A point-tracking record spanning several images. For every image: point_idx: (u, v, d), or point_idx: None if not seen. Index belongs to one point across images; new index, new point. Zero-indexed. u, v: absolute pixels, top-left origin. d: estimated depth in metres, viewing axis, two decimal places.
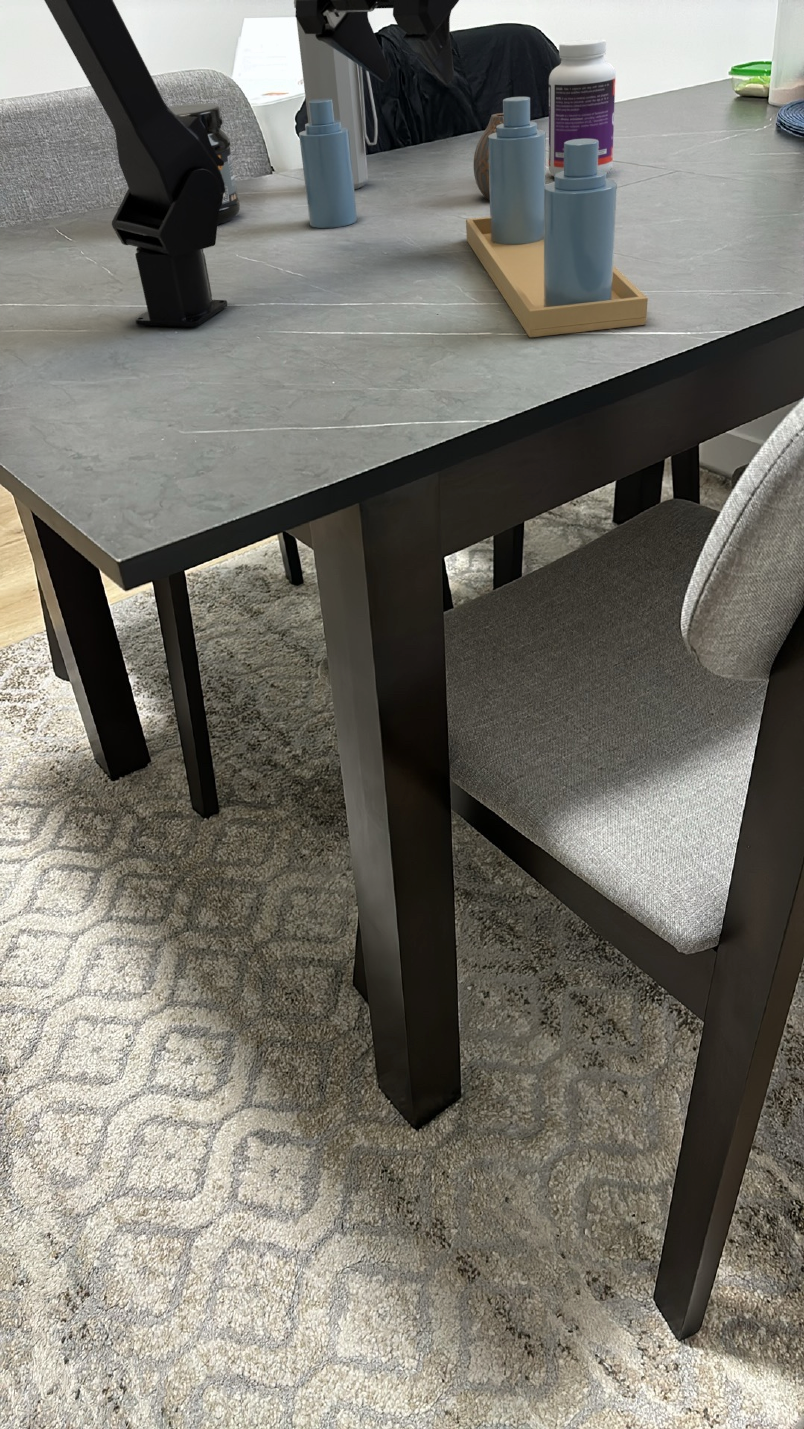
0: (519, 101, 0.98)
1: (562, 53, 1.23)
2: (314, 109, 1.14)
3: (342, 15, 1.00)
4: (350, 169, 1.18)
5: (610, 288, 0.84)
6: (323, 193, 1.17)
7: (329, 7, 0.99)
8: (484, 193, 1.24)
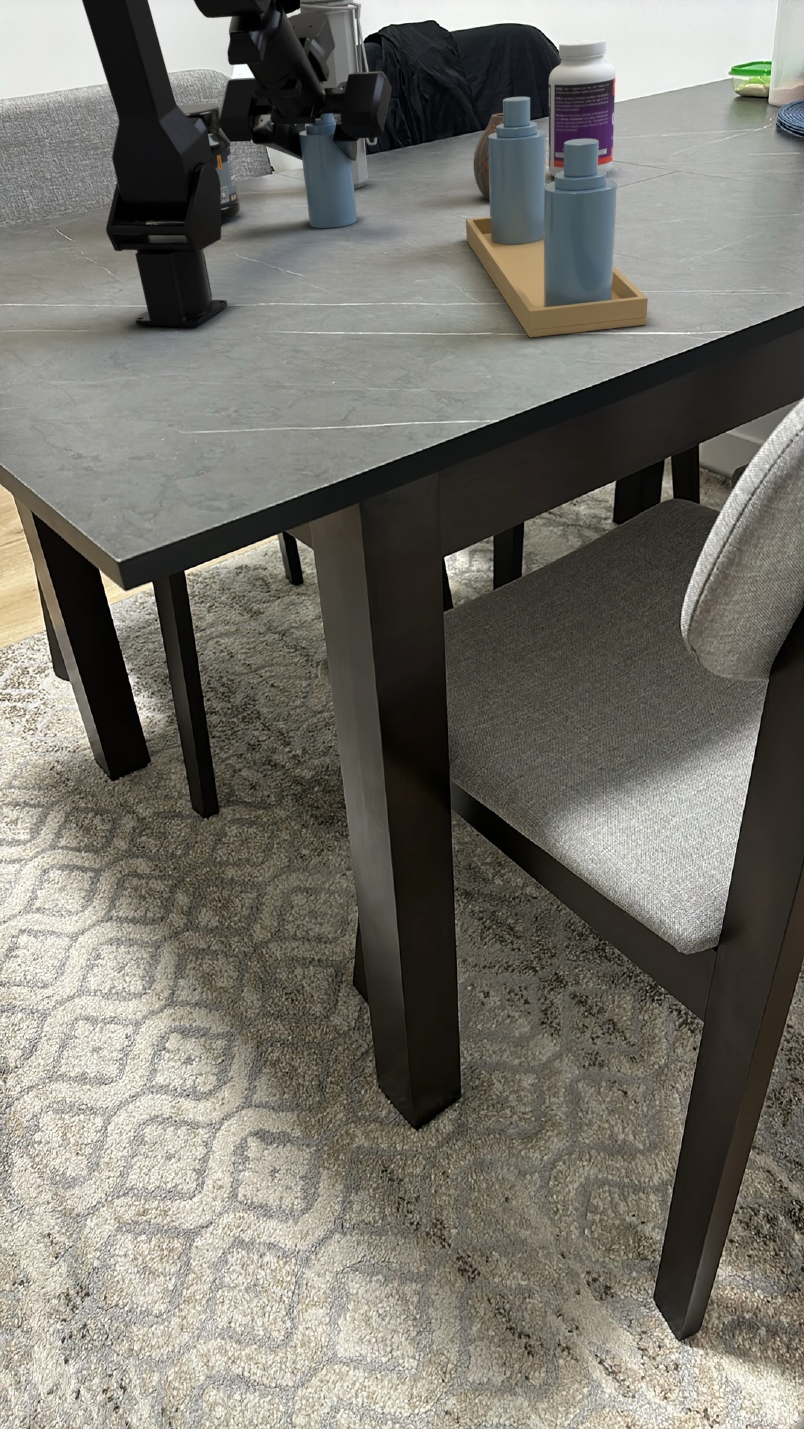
0: (519, 101, 0.98)
1: (562, 54, 1.23)
2: None
3: None
4: (350, 169, 1.18)
5: (610, 288, 0.84)
6: (323, 193, 1.17)
7: (268, 118, 1.12)
8: (484, 193, 1.24)
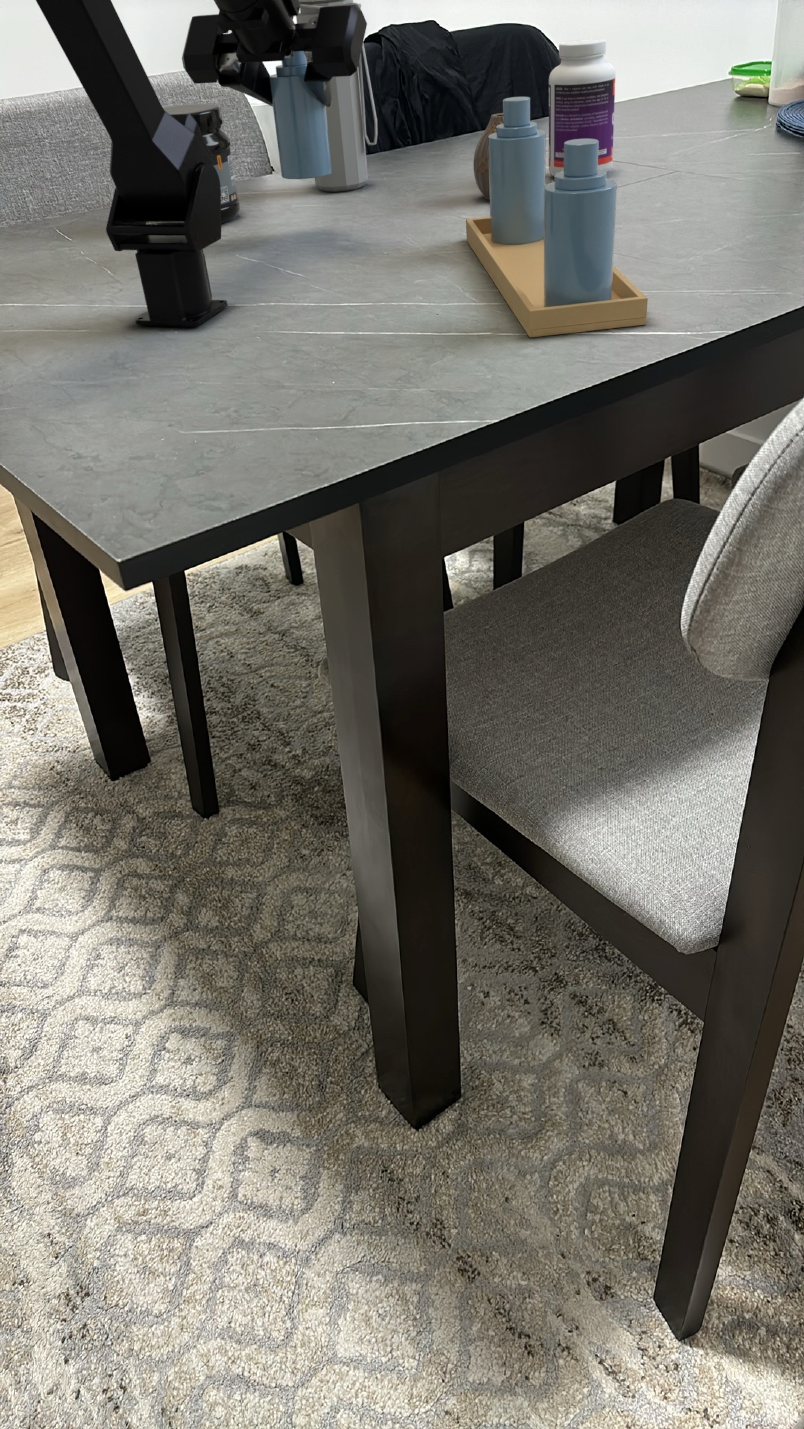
0: (519, 101, 0.98)
1: (562, 53, 1.23)
2: None
3: None
4: (324, 115, 1.10)
5: (610, 288, 0.84)
6: (295, 141, 1.10)
7: (235, 56, 1.04)
8: (484, 193, 1.24)
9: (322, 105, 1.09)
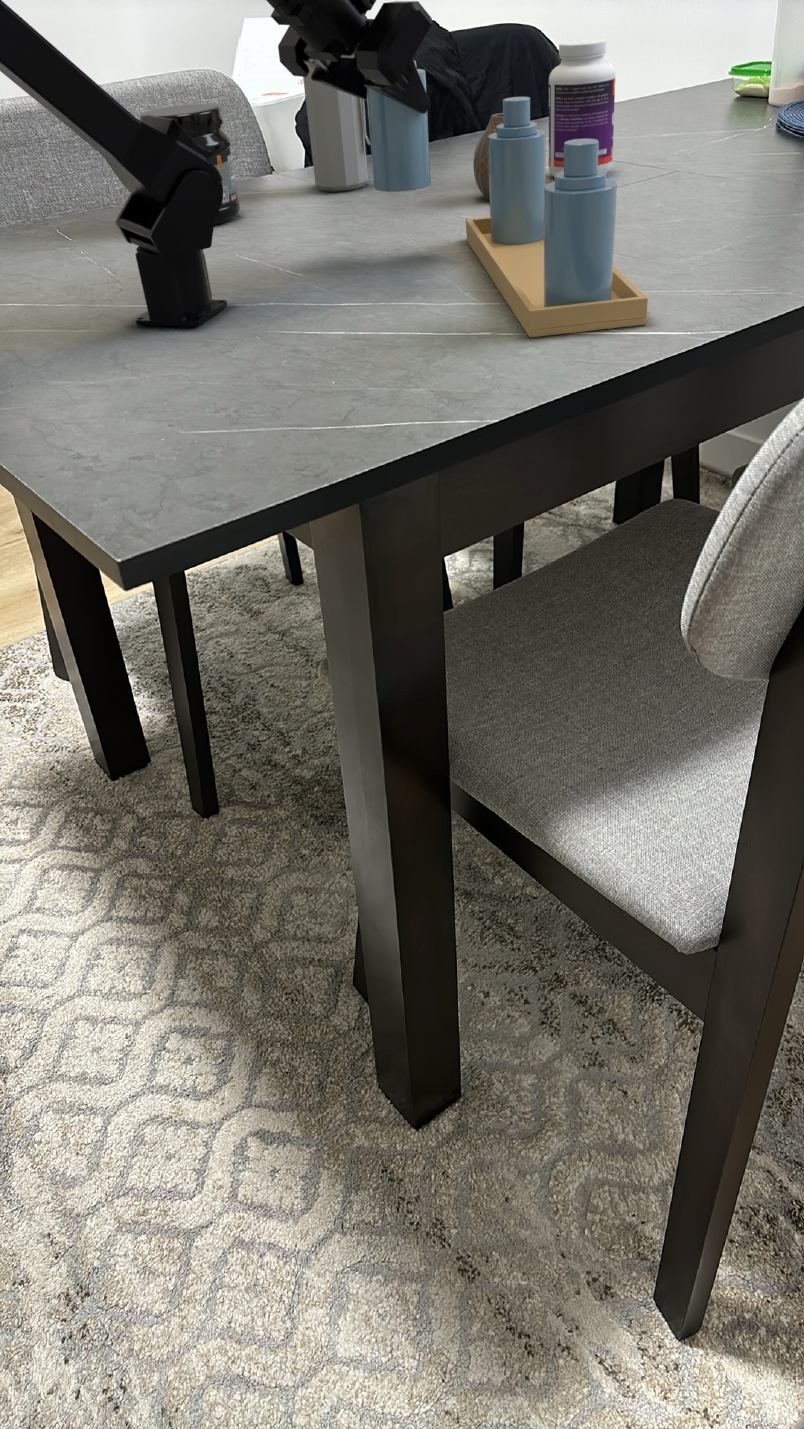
0: (519, 101, 0.98)
1: (562, 53, 1.23)
2: None
3: None
4: (415, 123, 0.96)
5: (610, 288, 0.84)
6: (377, 148, 0.98)
7: None
8: (484, 193, 1.24)
9: (412, 111, 0.96)
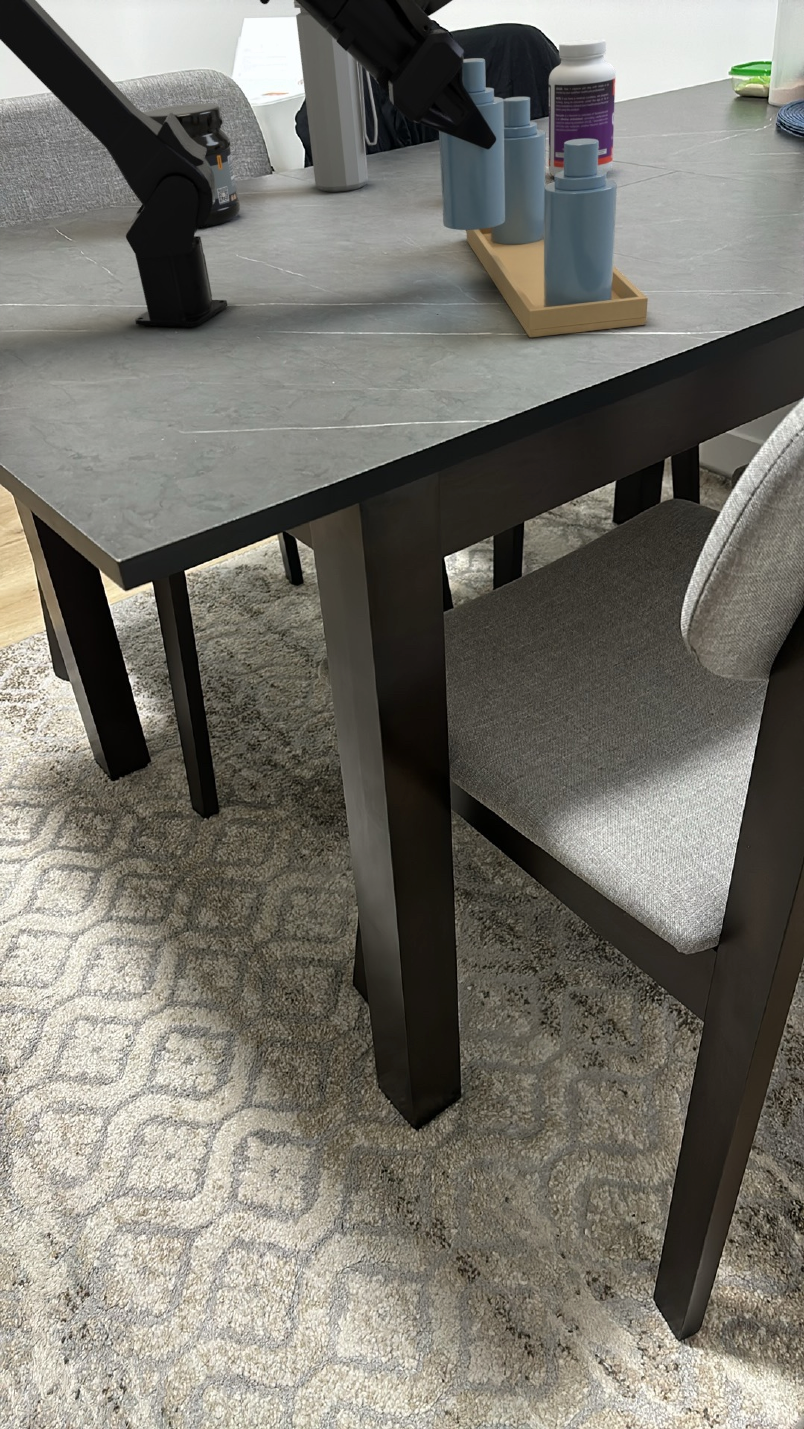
0: (519, 101, 0.98)
1: (562, 54, 1.23)
2: None
3: None
4: (478, 159, 0.88)
5: (610, 288, 0.84)
6: (442, 181, 0.91)
7: None
8: None
9: (475, 146, 0.87)
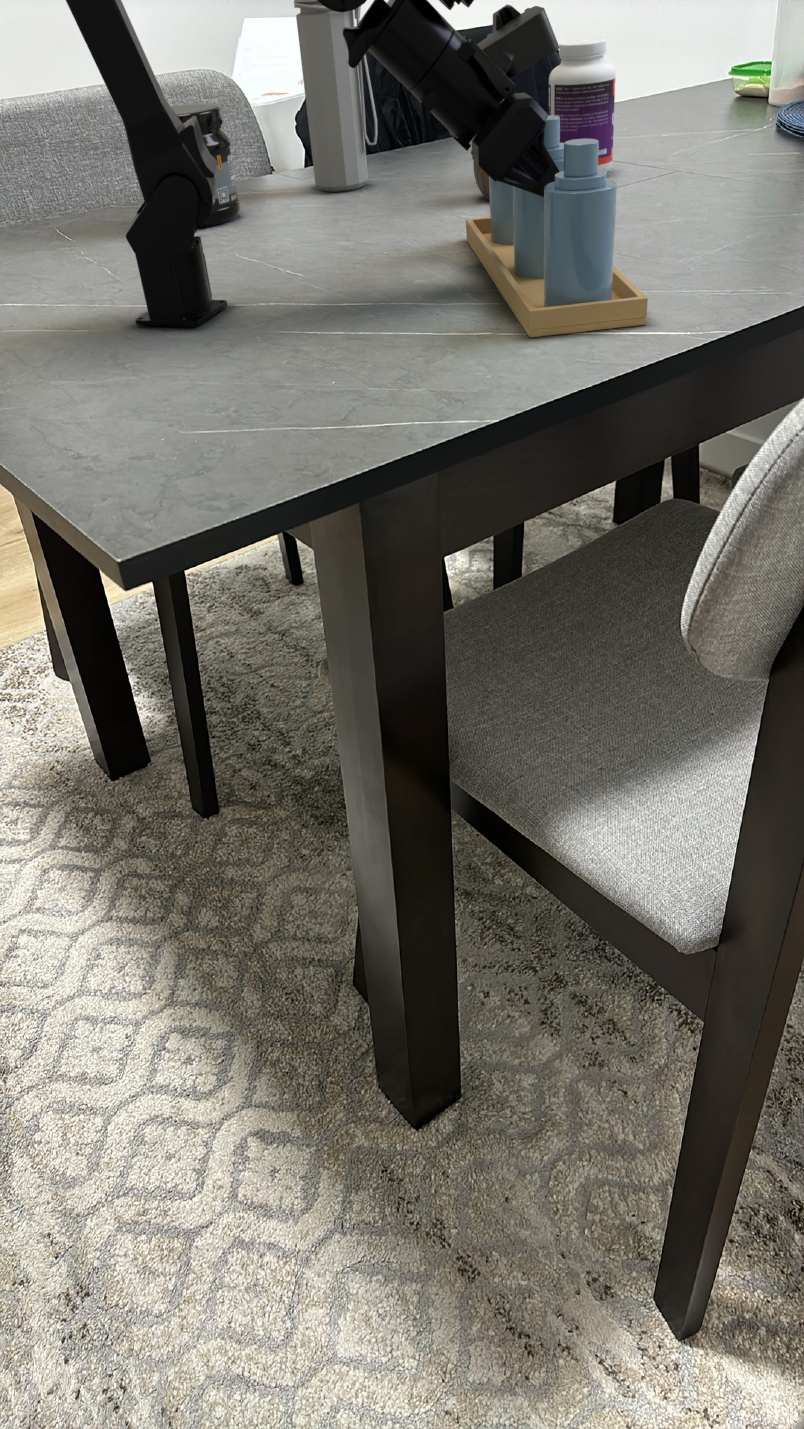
0: None
1: (562, 54, 1.23)
2: None
3: None
4: None
5: (610, 288, 0.84)
6: (515, 232, 0.94)
7: None
8: (484, 193, 1.24)
9: None
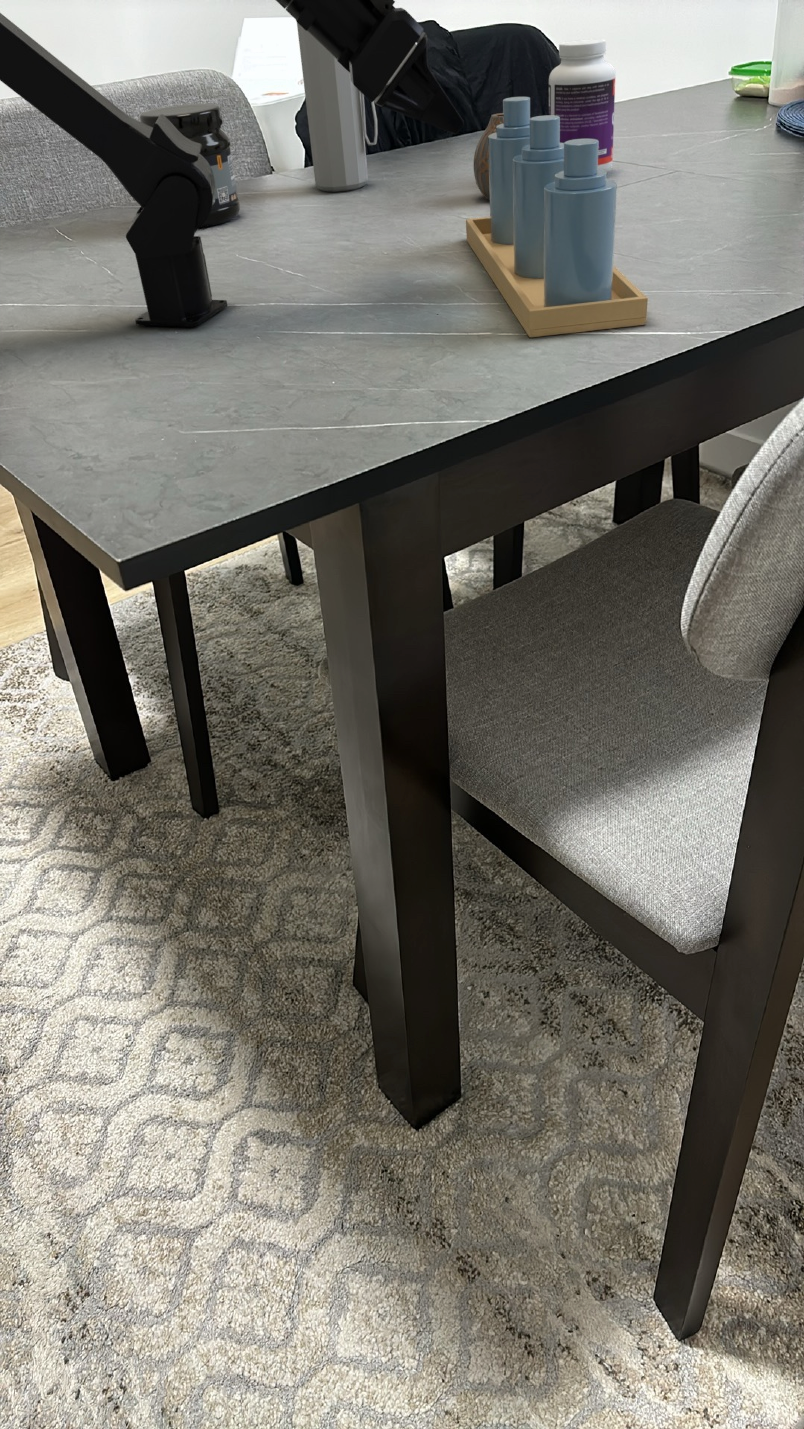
0: (519, 101, 0.98)
1: (562, 54, 1.23)
2: None
3: None
4: None
5: (610, 288, 0.84)
6: (515, 232, 0.94)
7: None
8: (484, 193, 1.24)
9: None
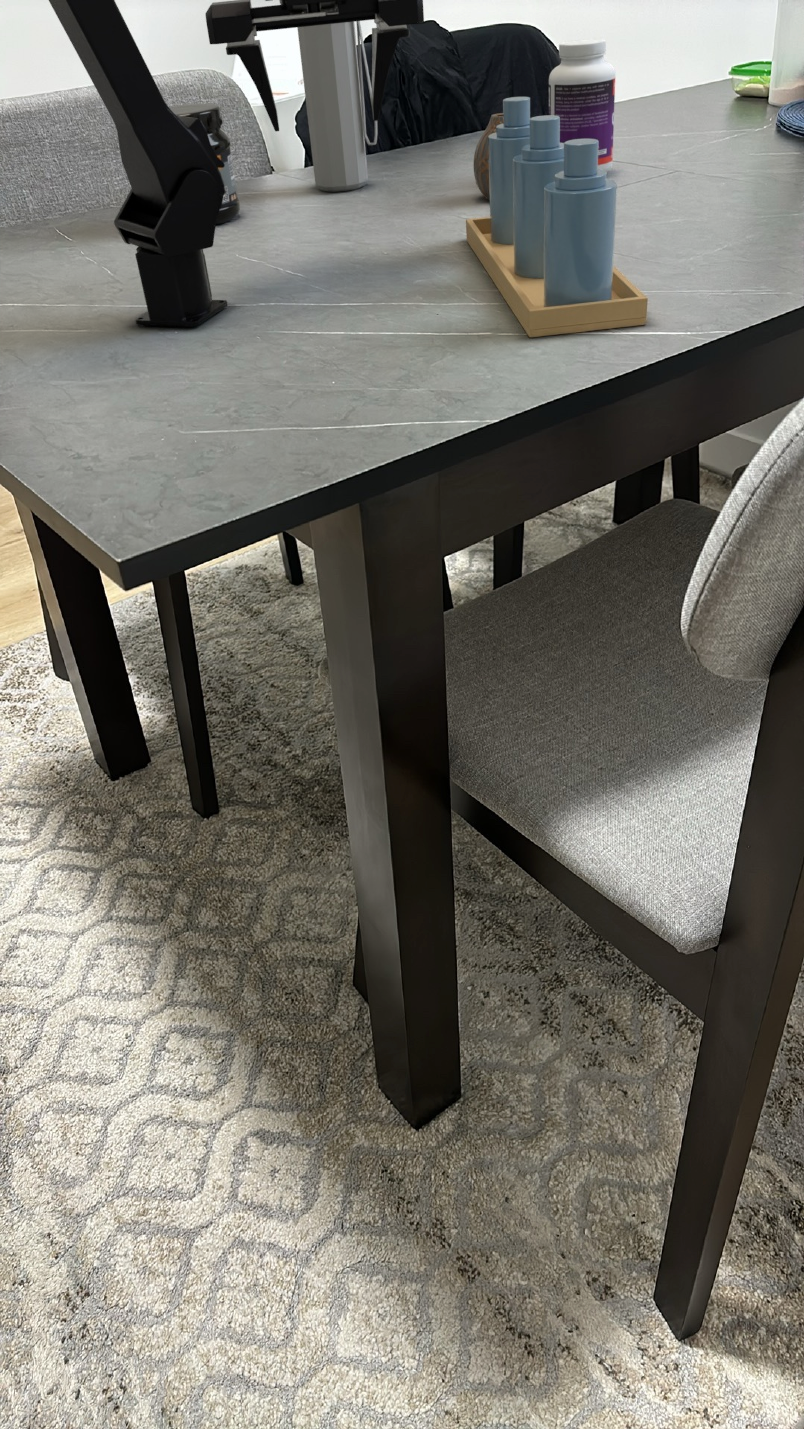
0: (519, 101, 0.98)
1: (562, 53, 1.23)
2: None
3: (254, 39, 0.91)
4: None
5: (610, 288, 0.84)
6: (515, 232, 0.94)
7: (253, 18, 0.89)
8: (484, 193, 1.24)
9: None
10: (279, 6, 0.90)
